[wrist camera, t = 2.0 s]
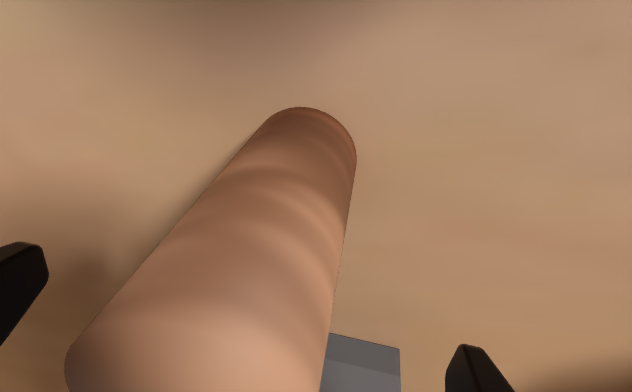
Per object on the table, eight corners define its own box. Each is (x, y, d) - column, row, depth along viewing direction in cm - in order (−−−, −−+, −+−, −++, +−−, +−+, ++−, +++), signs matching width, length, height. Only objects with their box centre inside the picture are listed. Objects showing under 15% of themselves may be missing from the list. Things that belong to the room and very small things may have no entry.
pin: (366, 118, 14) (331, 360, 5) (345, 213, 16) (294, 503, 7) (257, 97, 14) (39, 291, 5) (250, 192, 16) (85, 447, 7)
